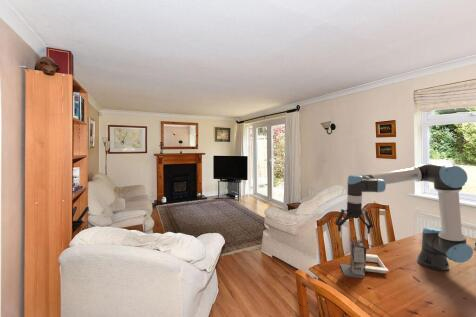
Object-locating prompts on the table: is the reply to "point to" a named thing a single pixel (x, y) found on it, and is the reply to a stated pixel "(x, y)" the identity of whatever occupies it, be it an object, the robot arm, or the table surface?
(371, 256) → the white flat frame piece
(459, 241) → the robot arm
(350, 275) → the plate
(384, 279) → the table surface
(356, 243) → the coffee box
